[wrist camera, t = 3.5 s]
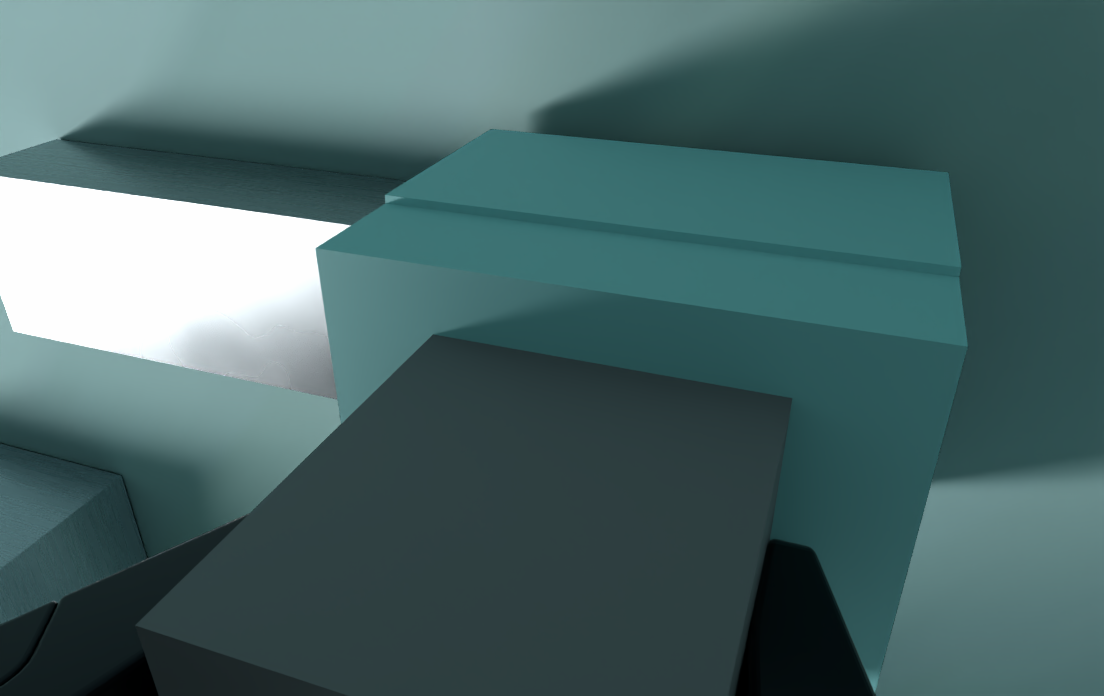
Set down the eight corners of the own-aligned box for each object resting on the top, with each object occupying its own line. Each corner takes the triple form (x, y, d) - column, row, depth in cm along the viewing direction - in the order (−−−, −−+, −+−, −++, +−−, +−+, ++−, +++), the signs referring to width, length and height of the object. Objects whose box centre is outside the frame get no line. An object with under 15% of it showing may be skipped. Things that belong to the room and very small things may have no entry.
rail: (929, 242, 11) (933, 306, 10) (886, 431, 13) (883, 514, 11) (56, 138, 16) (-43, 170, 14) (98, 287, 17) (13, 330, 16)
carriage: (948, 172, 10) (1032, 783, 3) (871, 509, 13) (830, 1252, 6) (491, 129, 12) (-63, 473, 5) (502, 432, 15) (140, 933, 8)
